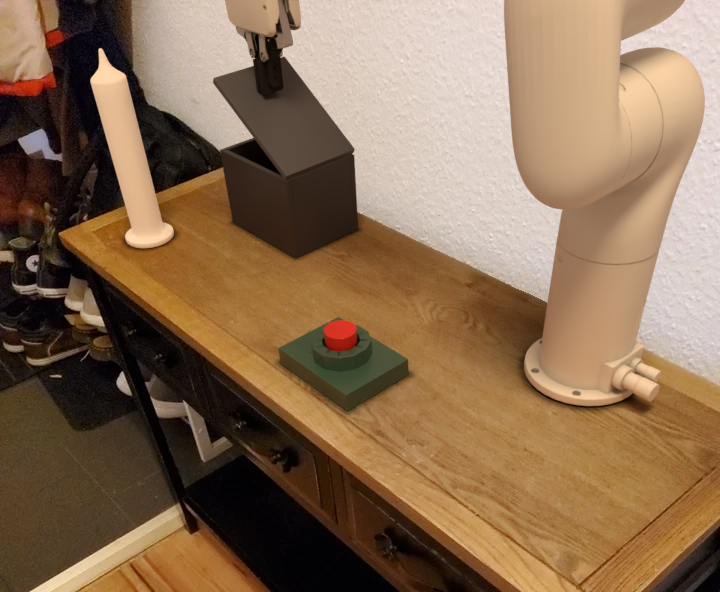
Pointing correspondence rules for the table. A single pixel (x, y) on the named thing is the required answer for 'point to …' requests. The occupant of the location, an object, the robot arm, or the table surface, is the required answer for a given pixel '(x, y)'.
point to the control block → (344, 366)
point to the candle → (129, 157)
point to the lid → (285, 121)
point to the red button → (340, 335)
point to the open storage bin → (290, 199)
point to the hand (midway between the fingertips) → (270, 90)
